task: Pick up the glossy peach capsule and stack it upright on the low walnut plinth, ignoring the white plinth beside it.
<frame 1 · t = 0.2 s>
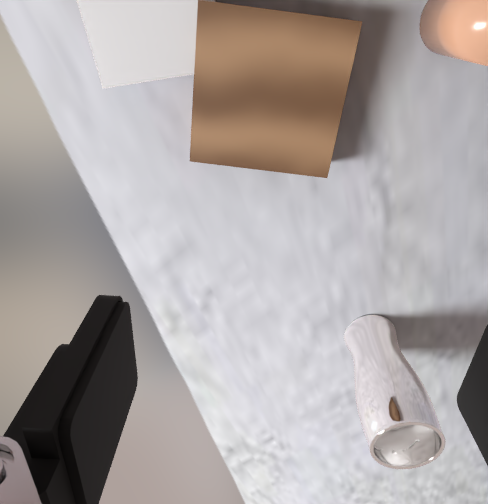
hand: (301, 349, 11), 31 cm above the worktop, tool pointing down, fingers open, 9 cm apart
white plinth: (154, 8, 34), on the worktop
beer glass: (368, 333, 50), on the worktop
walnut plinth: (267, 89, 37), on the worktop
glossy peach capsule: (452, 19, 34), on the worktop
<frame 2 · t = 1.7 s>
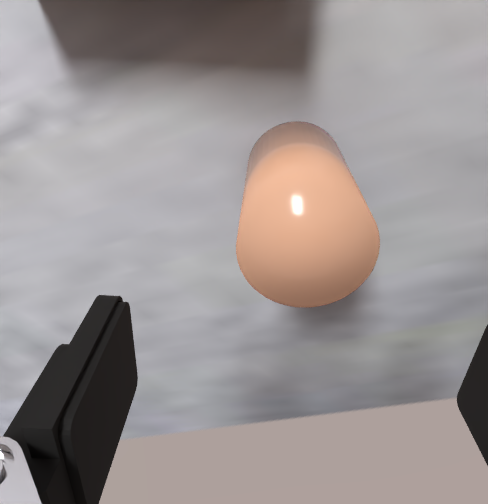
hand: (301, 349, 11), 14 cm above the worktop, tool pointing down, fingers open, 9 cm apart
glossy peach capsule: (294, 169, 23), on the worktop
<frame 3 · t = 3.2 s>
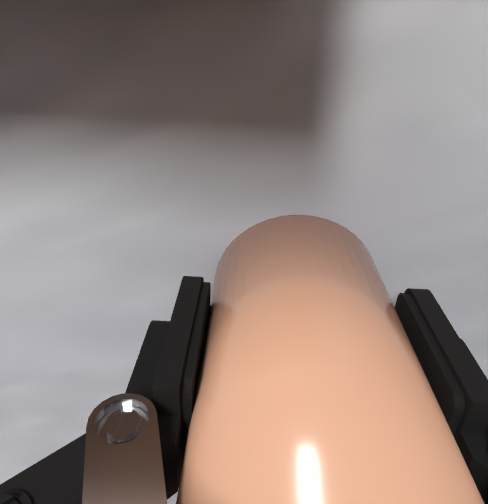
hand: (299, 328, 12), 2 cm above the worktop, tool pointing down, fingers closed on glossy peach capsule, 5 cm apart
glossy peach capsule: (294, 288, 14), on the worktop, touching gripper
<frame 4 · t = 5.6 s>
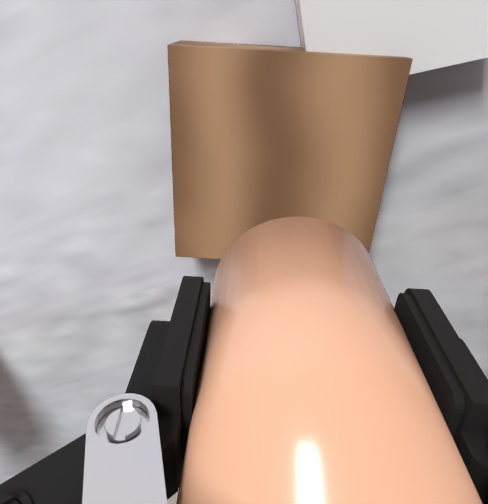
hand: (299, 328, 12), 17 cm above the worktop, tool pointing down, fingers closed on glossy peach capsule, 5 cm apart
walnut plinth: (276, 150, 27), on the worktop
glossy peach capsule: (294, 289, 14), point 15 cm above the worktop, touching gripper
when the fingers open (7 cm above the worktop, at t = 7.9 s): glossy peach capsule stays where it is, resting on walnut plinth.
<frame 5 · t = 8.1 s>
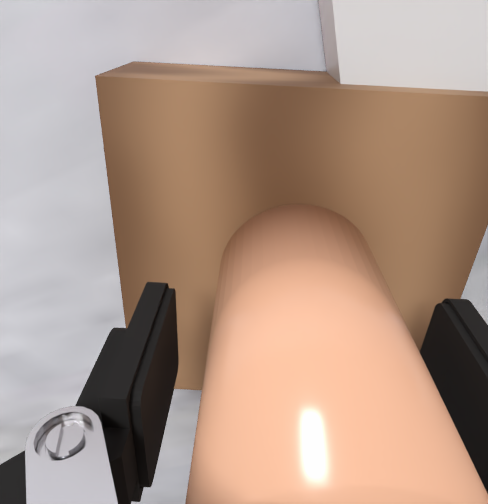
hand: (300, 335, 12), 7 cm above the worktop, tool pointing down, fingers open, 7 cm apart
walnut plinth: (285, 222, 18), on the worktop
glossy peach capsule: (295, 274, 14), point 4 cm above the worktop, touching walnut plinth
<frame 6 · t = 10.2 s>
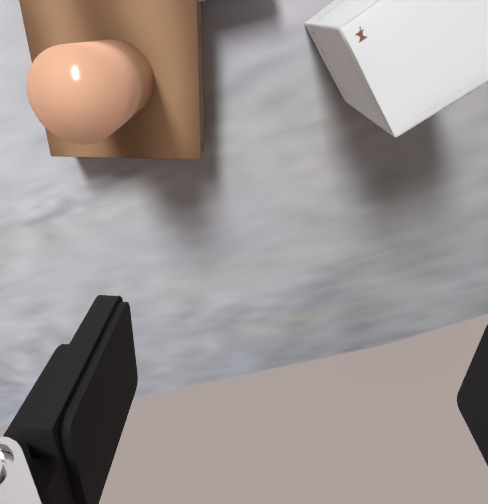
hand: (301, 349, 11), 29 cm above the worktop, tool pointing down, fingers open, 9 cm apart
walnut plinth: (129, 71, 34), on the worktop
supplement box: (364, 37, 33), on the worktop
glossy peach capsule: (118, 78, 31), point 4 cm above the worktop, touching walnut plinth
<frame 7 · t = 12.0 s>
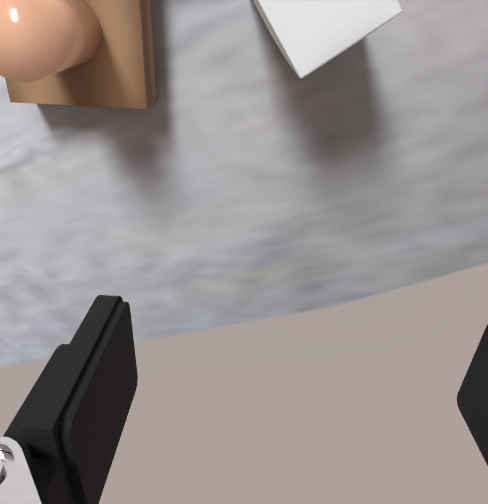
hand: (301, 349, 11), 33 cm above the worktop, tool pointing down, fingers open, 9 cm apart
walnut plinth: (85, 26, 37), on the worktop
glossy peach capsule: (68, 28, 34), point 4 cm above the worktop, touching walnut plinth
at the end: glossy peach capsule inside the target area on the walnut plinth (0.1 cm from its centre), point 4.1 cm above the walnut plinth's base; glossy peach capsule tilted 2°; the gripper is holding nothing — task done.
